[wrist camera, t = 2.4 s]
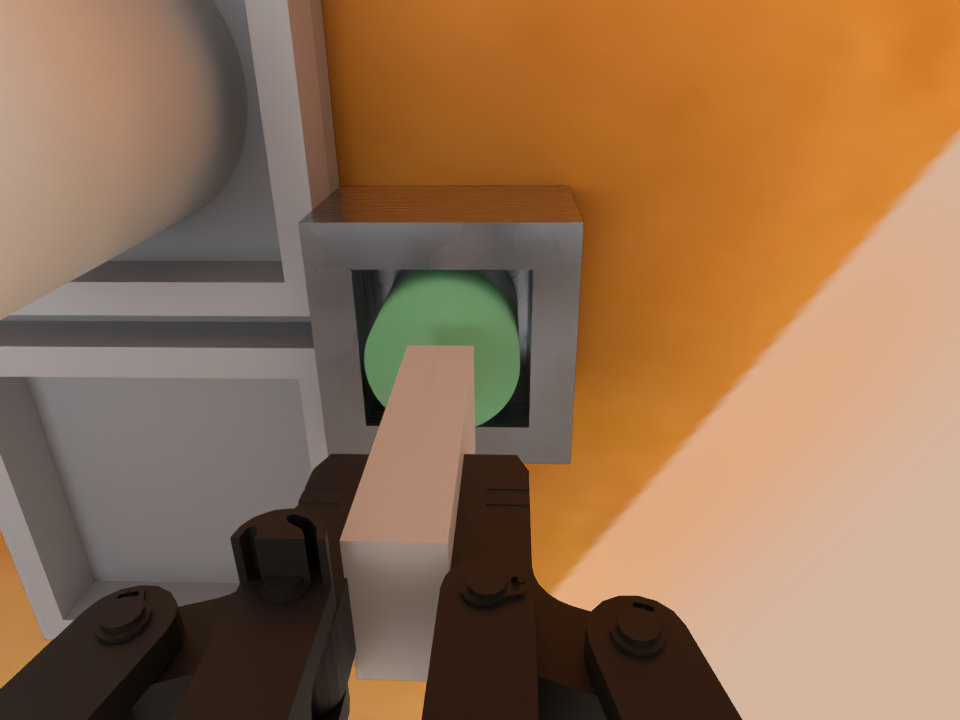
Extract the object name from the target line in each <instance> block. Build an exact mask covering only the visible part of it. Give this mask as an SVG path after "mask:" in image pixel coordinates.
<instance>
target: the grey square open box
mask: <svg viewBox="0 0 960 720" xmlns="http://www.w3.org/2000/svg"><path fill="white" fill-rule="evenodd" d="M298 226H299V234H300V241H301V249H302V257H303V265H304V273H305V281H306V288H307V296H308V304H309V312H310V320H311V327H312V335H313V343H314V351H315V359H316V366H317V374H318V382H319V390H320V398H321V406H322V413H323V421H324V429H325V437H326V445H327V452H328V456H329V455H330V454H370V452H371V449H372V446H373V443H374V440H375V437H376V434H377V432H378V429H379V426H380V423H381V420H382V417H383V414H384V412H385V409H386V408H385V407H384V406H383V405H382V404H381V402H380V401H379V400H378V399H377V397H376V396H375V394H374V393H373V391H372V389H371V387H370V385H369V382H368V379H367V376H366V372H365V366H364V353H365V346H366V342H367V339H368V336H369V334H370V332H371V329H372V327H373V325H374V323H375V321H376V319H377V317H378V314H379V312H380V310H381V308H382V306H383V304H384V302H385V300H386V298H387V295H388V293H389V291H390V289H391V287H392V285H393V283H394V281H395V279H396V277H397V275H398V274H399V272H400V271H401V270H504V271H505V272H506V274H507V275H508V277H509V278H510V280H511V282H512V284H513V286H514V289H515V292H516V295H517V301H518V321H519V349H520V373H519V378H518V382H517V386H516V388H515V391H514V393H513V395H512V396H511V398H510V400H509V401H508V403H507V404H506V405H505V406H504V408H503V409H502V410H501V411H500V412H499V413H497V414H496V415H495V416H494V417H492V418H491V419H490V420H488V421H486V422H484V423H483V424H481V425H478V426H476V427H475V454H493V455H517V456H518V457H519V458H520V460H521V461H522V463H530V464H570V458H571V440H572V422H573V405H574V387H575V369H576V352H577V334H578V316H579V299H580V281H581V263H582V246H583V228H584V222H583V219H582V217H581V214H580V212H579V209H578V207H577V205H576V202H575V200H574V197H573V195H572V192H571V190H570V188H569V186H356V187H338V188H337V189H336V190H335V191H334V192H333V193H332V194H330V195H329V196H328V197H327V198H326V199H325V200H323V201H322V202H321V203H320V204H319V205H318V206H317V207H315V208H314V209H313V210H312V211H311V212H310V213H309V214H307V215H306V216H305V217H304V218H303V219H302V220H301V221H299V222H298Z"/></svg>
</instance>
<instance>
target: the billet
mask: <svg viewBox="0 0 960 720" xmlns="http://www.w3.org/2000/svg"><path fill="white" fill-rule="evenodd" d="M247 106H248V104H247V92H246V83H245V78H244V73H243V68H242V63H241V60H240V57H239V54H238V51H237V48H236V45H235V42H234V40H233V38H232V35H231V33H230V31H229V29H228V27H227V24H226V22H225V20H224V19H223V17H222V15H221V14H220V12H219V10H218V8H217V7H216V5H215V3H214V2H213V0H0V320H1V319H3V318H5V317H7V316H9V315H10V314H12V313H14V312H16V311H18V310H19V309H21V308H23V307H25V306H27V305H28V304H30V303H32V302H34V301H36V300H38V299H39V298H41V297H43V296H45V295H47V294H48V293H50V292H52V291H54V290H56V289H57V288H59V287H61V286H63V285H65V284H67V283H68V282H70V281H72V280H74V279H76V278H77V277H79V276H81V275H83V274H85V273H86V272H88V271H90V270H92V269H94V268H95V267H97V266H99V265H101V264H103V263H105V262H106V261H108V260H110V259H112V258H114V257H115V256H117V255H119V254H121V253H123V252H124V251H126V250H128V249H130V248H132V247H133V246H135V245H137V244H139V243H141V242H143V241H144V240H146V239H148V238H150V237H152V236H153V235H155V234H157V233H159V232H161V231H162V230H164V229H166V228H168V227H170V226H171V225H173V224H175V223H177V222H179V221H181V220H182V219H184V218H186V217H188V216H190V215H191V214H193V213H195V212H197V211H198V210H200V209H201V208H202V207H203V206H205V205H206V204H207V203H209V202H210V201H211V200H212V199H213V198H214V197H215V196H216V195H217V194H218V192H219V191H220V190H221V189H222V188H223V186H224V185H225V183H226V182H227V180H228V179H229V177H230V176H231V174H232V172H233V170H234V168H235V166H236V164H237V162H238V160H239V156H240V153H241V150H242V147H243V143H244V138H245V132H246V126H247Z"/></svg>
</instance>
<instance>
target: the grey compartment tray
mask: <svg viewBox="0 0 960 720" xmlns="http://www.w3.org/2000/svg"><path fill="white" fill-rule="evenodd" d="M213 2H214V3H215V5H216V7H217V8H218V10H219V12H220V14H221V15H222V17H223V19H224V20H225V22H226V24H227V27H228V29H229V31H230V33H231V35H232V38H233V40H234V42H235V45H236V48H237V51H238V54H239V57H240V60H241V63H242V68H243V73H244V78H245V83H246V92H247V104H248V106H247V126H246V132H245V138H244V143H243V147H242V150H241V153H240V156H239V160H238V162H237V164H236V166H235V168H234V170H233V172H232V174H231V176H230V177H229V179H228V180H227V182H226V183H225V185H224V186H223V188H222V189H221V190H220V191H219V192H218V194H217V195H216V196H215V197H214V198H213V199H212V200H211V201H210V202H209V203H207V204H206V205H205V206H203V207H202V208H201V209H200V210H198V211H197V212H195V213H193V214H191V215H190V216H188V217H186V218H184V219H182V220H181V221H179V222H177V223H175V224H173V225H171V226H170V227H168V228H166V229H164V230H162V231H161V232H159V233H157V234H155V235H153V236H152V237H150V238H148V239H146V240H144V241H143V242H141V243H139V244H137V245H135V246H133V247H132V248H130V249H128V250H126V251H124V252H123V253H121V254H119V255H117V256H115V257H114V258H112V259H110V260H108V261H106V262H105V263H103V264H101V265H99V266H97V267H95V268H94V269H92V270H90V271H88V272H86V273H85V274H83V275H81V276H79V277H77V278H76V279H74V280H72V281H70V282H68V283H67V284H65V285H63V286H61V287H59V288H57V289H56V290H54V291H52V292H50V293H48V294H47V295H45V296H43V297H41V298H39V299H38V300H36V301H34V302H32V303H30V304H28V305H27V306H25V307H23V308H21V309H19V310H18V311H16V312H14V313H12V314H10V315H9V316H7V317H5V318H3V319H1V320H0V530H1V532H2V535H3V537H4V540H5V542H6V545H7V547H8V550H9V552H10V555H11V557H12V560H13V562H14V565H15V567H16V570H17V572H18V575H19V577H20V580H21V582H22V585H23V587H24V590H25V592H26V595H27V597H28V600H29V602H30V605H31V607H32V610H33V612H34V615H35V617H36V620H37V622H38V625H39V627H40V630H41V632H42V635H43V637H44V639H54V638H56V637H57V636H58V635H59V634H60V633H61V632H62V631H63V630H64V629H65V628H66V627H67V626H68V625H69V624H70V623H72V622H73V621H74V620H75V619H76V618H77V617H78V616H79V615H80V614H81V613H82V612H83V611H84V610H86V609H87V608H89V607H90V606H91V605H93V604H94V603H95V602H97V601H98V600H99V599H101V598H103V597H105V596H107V595H109V594H112V593H114V592H116V591H118V590H121V589H124V588H129V587H134V586H139V585H149V586H159V587H161V588H163V589H165V590H168V591H170V592H171V593H172V595H173V597H174V598H175V600H176V602H177V605H178V607H179V606H184V605H189V604H193V603H198V602H202V601H207V600H211V599H215V598H219V597H222V596H225V595H229V594H231V593H233V592H235V591H236V590H237V588H238V586H239V584H240V582H239V577H238V573H237V568H236V563H235V559H234V554H233V549H232V545H231V540H230V537H231V536H232V535H233V534H234V532H235V531H236V530H237V529H238V528H239V527H240V526H241V525H242V524H244V523H245V522H247V521H249V520H250V519H252V518H253V517H255V516H258V515H260V514H263V513H266V512H269V511H272V510H279V509H289V508H293V509H295V507H296V506H298V501H299V499H300V497H301V495H302V492H303V491H305V486H306V484H307V482H308V480H309V477H310V475H311V473H312V471H313V469H314V468H315V467H316V466H318V465H319V464H320V463H321V462H322V461H323V460H325V459H326V458H327V457H328V452H327V445H326V437H325V429H324V421H323V413H322V406H321V398H320V390H319V382H318V374H317V366H316V359H315V351H314V343H313V335H312V327H311V320H310V312H309V304H308V296H307V288H306V281H305V273H304V265H303V257H302V249H301V241H300V234H299V226H298V222H299V221H301V220H302V219H303V218H304V217H305V216H306V215H307V214H309V213H310V212H311V211H312V210H313V209H314V208H315V207H317V206H318V205H319V204H320V203H321V202H322V201H323V200H325V199H326V198H327V197H328V196H329V195H330V194H332V193H333V192H334V191H335V190H336V189H337V188H338V187H340V186H339V176H338V166H337V156H336V146H335V136H334V126H333V116H332V105H331V95H330V85H329V75H328V65H327V55H326V45H325V35H324V25H323V14H322V4H321V0H213Z"/></svg>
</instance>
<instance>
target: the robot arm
mask: <svg viewBox="0 0 960 720" xmlns="http://www.w3.org/2000/svg"><path fill="white" fill-rule="evenodd" d="M230 540H231V545H232V549H233V554H234V559H235V563H236V568H237V573H238V577H239V582H240V584H239V586H238V588H237V590H236V591H235V592H233V593H231V594H229V595H225V596H222V597H219V598H215V599H211V600H207V601H202V602H198V603H193V604H189V605H184V606H179V607H178V605H177V602H176V600H175V598H174V597H173V595H172V593H171V592H170V591H168V590H165V589H163V588H161V587H159V586H149V585H139V586H134V587H129V588H124V589H121V590H118V591H116V592H114V593H112V594H109V595H107V596H105V597H103V598H101V599H99V600H98V601H97V602H95V603H94V604H93V605H91V606H90V607H89V608H87V609H86V610H84V611H83V612H82V613H81V614H80V615H79V616H78V617H77V618H76V619H75V620H74V621H73V622H72V623H70V624H69V625H68V626H67V627H66V628H65V629H64V630H63V631H62V632H61V633H60V634H59V635H58V636H57V637H56V638H54V639H53V640H52V641H51V642H50V643H49V644H48V645H47V646H46V647H45V648H44V649H43V650H42V651H41V652H40V653H38V654H37V655H36V656H35V657H34V658H33V659H32V660H31V661H30V662H29V663H28V664H27V665H26V666H25V667H24V668H22V669H21V670H20V671H19V672H18V673H17V674H16V675H15V676H14V677H13V678H12V679H11V680H10V681H9V682H8V683H6V684H5V685H4V686H3V687H2V688H1V689H0V720H348V716H349V705H350V697H349V689H348V679H349V676H350V672H351V668H352V664H353V660H354V658H355V666H356V674H357V679H375V680H406V681H427V685H426V692H425V700H424V707H423V714H422V720H742V718H741V717H740V715H739V713H738V712H737V710H736V708H735V707H734V705H733V704H732V702H731V700H730V698H729V697H728V695H727V693H726V692H725V690H724V688H723V687H722V685H721V683H720V682H719V680H718V678H717V677H716V675H715V673H714V672H713V670H712V668H711V667H710V665H709V664H708V662H707V660H706V658H705V657H704V655H703V653H702V652H701V650H700V648H699V647H698V645H697V643H696V642H695V640H694V638H693V637H692V635H691V633H690V632H689V630H688V628H687V627H686V625H685V624H684V623H683V622H682V621H681V619H680V618H679V617H678V616H677V615H676V614H675V613H674V611H672V610H671V609H669V608H667V607H665V606H664V605H662V604H661V603H659V602H657V601H655V600H651V599H647V598H644V597H640V596H617V597H614V598H611V599H608V600H605V601H603V602H601V603H600V604H599V605H598V606H597V607H596V608H595V609H594V610H592V611H591V612H590V611H587V610H583V609H580V608H577V607H573V606H571V605H568V604H566V603H563V602H561V601H558V600H557V599H555V598H554V597H552V596H551V595H549V594H548V593H547V592H546V591H545V590H544V589H543V588H542V587H541V586H540V585H539V584H538V582H537V580H536V578H535V576H534V574H533V569H532V558H531V528H530V498H529V471H528V470H527V468H526V467H525V465H524V464H523V463H522V461H521V460H520V458H519V457H518V456H517V455H493V454H475V393H474V346H443V345H407V348H406V351H405V354H404V357H403V360H402V363H401V366H400V368H399V371H398V374H397V377H396V380H395V383H394V386H393V389H392V391H391V394H390V397H389V400H388V403H387V406H386V409H385V412H384V414H383V417H382V420H381V423H380V426H379V429H378V432H377V434H376V437H375V440H374V443H373V446H372V449H371V452H370V454H330V455H329V456H328V457H327V458H326V459H325V460H323V461H322V462H321V463H320V464H319V465H318V466H316V467H315V468H314V469H313V471H312V473H311V475H310V477H309V480H308V482H307V484H306V486H305V491H303V492H302V495H301V497H300V499H299V501H298V506H296V507H295V509H293V508H289V509H279V510H272V511H269V512H266V513H263V514H260V515H258V516H255V517H253V518H252V519H250V520H249V521H247V522H245V523H244V524H242V525H241V526H240V527H239V528H238V529H237V530H236V531H235V532H234V534H233V535H232V536H231V537H230Z"/></svg>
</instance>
